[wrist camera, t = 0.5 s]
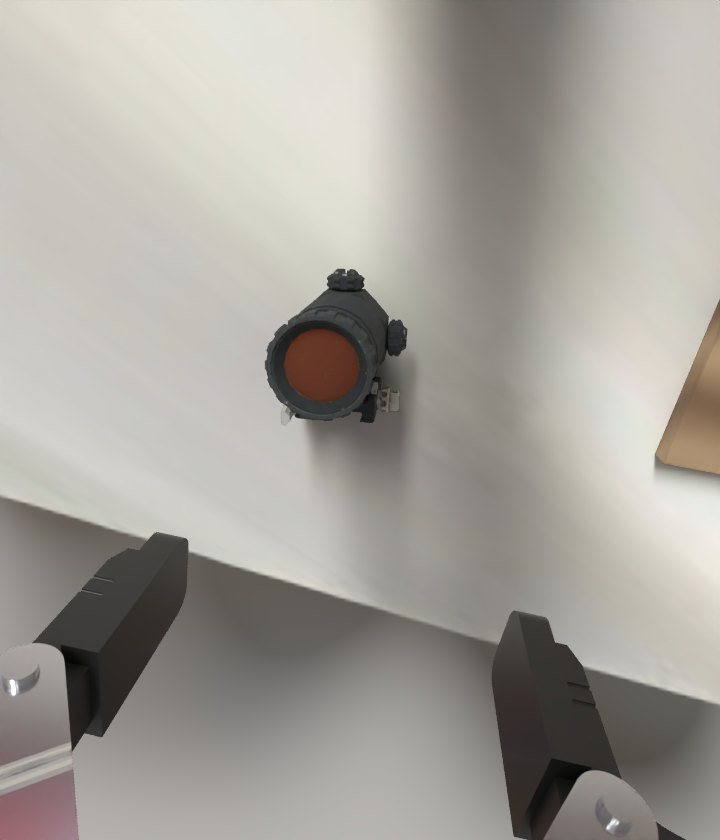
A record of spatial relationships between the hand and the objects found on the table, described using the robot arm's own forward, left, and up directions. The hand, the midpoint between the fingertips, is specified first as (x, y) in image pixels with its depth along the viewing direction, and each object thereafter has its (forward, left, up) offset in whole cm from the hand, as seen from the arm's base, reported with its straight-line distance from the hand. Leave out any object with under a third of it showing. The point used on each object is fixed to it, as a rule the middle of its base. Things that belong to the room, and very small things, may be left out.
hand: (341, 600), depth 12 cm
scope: (0, -3, -28) cm, 28 cm away
